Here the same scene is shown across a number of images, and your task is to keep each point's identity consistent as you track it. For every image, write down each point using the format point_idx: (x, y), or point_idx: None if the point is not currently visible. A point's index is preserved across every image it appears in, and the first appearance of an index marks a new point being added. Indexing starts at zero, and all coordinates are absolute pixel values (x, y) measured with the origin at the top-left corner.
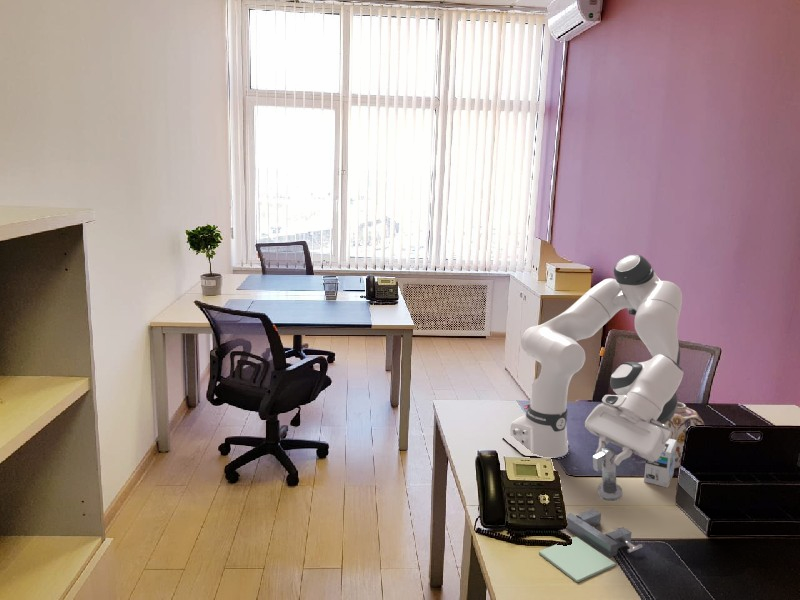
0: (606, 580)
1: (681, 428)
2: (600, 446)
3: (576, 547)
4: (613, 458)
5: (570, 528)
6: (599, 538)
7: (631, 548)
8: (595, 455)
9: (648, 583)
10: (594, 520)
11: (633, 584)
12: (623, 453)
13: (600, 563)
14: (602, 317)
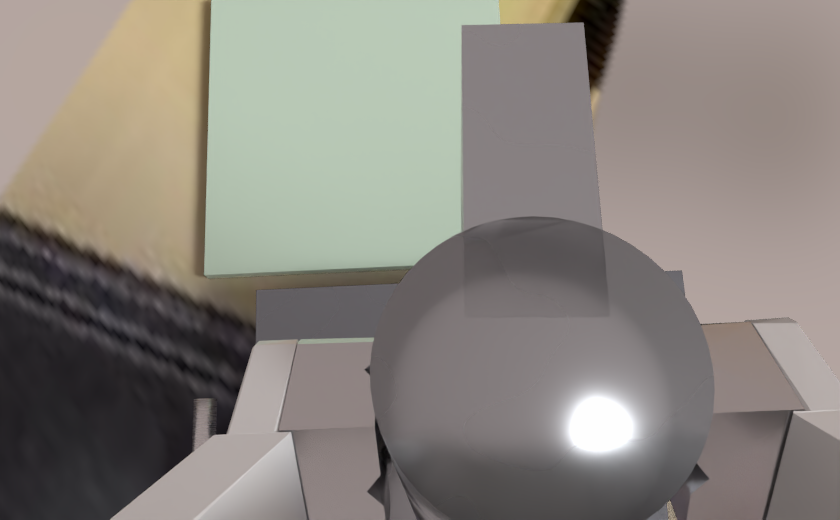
0: (149, 143)
1: None
2: (831, 420)
3: (426, 184)
4: (335, 366)
5: None
6: (354, 287)
7: (200, 425)
8: (563, 70)
9: (8, 321)
10: None
11: (49, 242)
12: (123, 516)
13: (246, 197)
14: None
